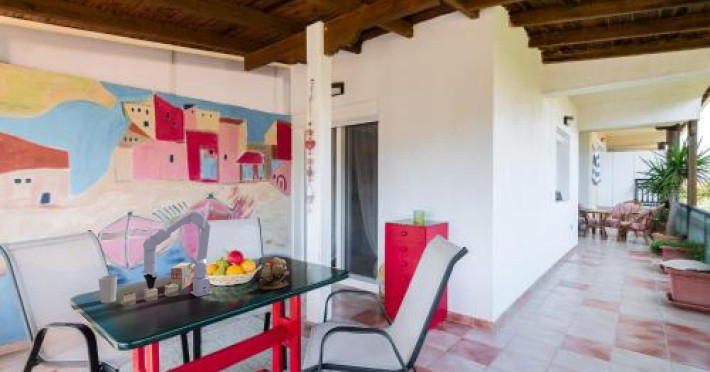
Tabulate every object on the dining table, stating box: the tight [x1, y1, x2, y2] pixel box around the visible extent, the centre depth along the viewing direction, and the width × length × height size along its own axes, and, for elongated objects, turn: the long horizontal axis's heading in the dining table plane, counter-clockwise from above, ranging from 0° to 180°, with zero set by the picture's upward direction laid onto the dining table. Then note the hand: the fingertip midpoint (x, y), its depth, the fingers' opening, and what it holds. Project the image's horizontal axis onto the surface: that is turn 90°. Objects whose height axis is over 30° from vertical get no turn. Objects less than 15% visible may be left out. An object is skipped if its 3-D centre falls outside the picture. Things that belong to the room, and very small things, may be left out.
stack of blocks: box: [170, 262, 196, 290], centre depth 216 cm, size 21×6×12 cm, turn 179°
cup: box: [98, 274, 118, 304], centre depth 186 cm, size 8×8×12 cm
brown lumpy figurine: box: [259, 256, 290, 291], centre depth 211 cm, size 18×12×17 cm, turn 134°
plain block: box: [143, 286, 159, 302], centre depth 189 cm, size 5×5×5 cm
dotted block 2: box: [164, 283, 179, 298], centre depth 196 cm, size 5×5×5 cm
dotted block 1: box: [120, 291, 137, 307], centre depth 182 cm, size 5×5×5 cm
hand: (150, 288), depth 189 cm, fingers closed
